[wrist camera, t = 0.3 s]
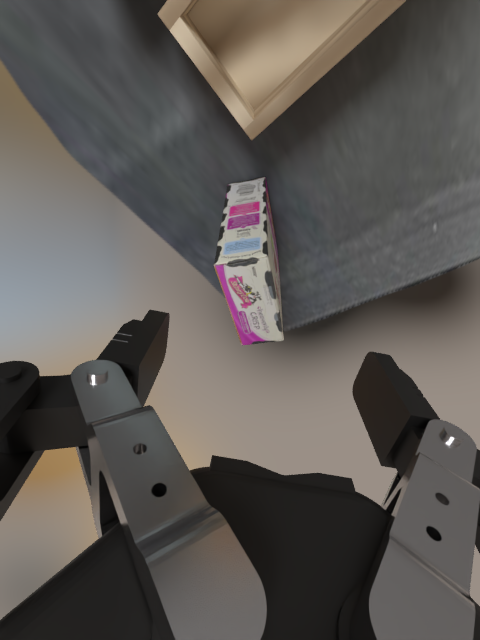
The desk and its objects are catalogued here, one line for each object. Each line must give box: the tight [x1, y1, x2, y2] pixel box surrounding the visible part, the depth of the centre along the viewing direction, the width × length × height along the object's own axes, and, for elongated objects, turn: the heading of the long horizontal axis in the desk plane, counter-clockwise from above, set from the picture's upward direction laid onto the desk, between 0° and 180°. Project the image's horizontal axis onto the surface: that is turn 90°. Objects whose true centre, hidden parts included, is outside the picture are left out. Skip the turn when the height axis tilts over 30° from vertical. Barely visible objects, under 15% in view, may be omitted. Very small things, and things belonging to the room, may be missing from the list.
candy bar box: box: [214, 177, 284, 345], centre depth 36 cm, size 11×5×16 cm, turn 13°
